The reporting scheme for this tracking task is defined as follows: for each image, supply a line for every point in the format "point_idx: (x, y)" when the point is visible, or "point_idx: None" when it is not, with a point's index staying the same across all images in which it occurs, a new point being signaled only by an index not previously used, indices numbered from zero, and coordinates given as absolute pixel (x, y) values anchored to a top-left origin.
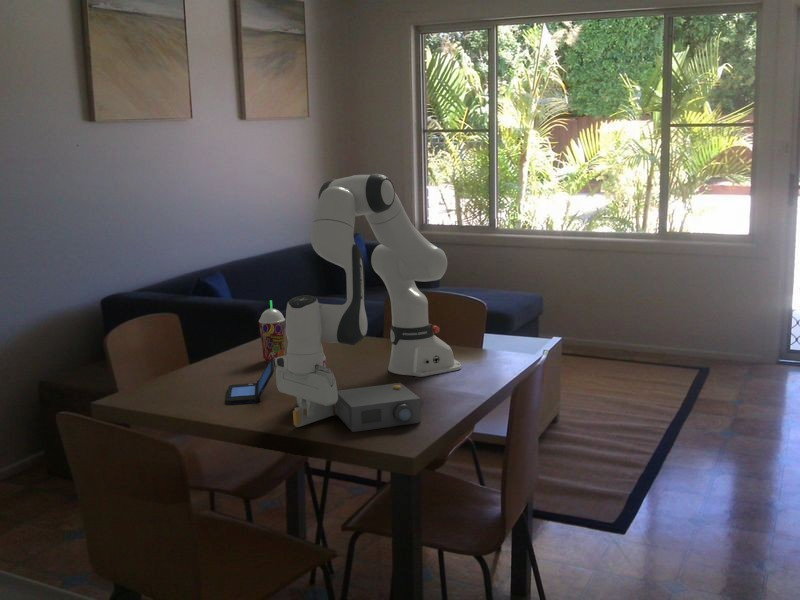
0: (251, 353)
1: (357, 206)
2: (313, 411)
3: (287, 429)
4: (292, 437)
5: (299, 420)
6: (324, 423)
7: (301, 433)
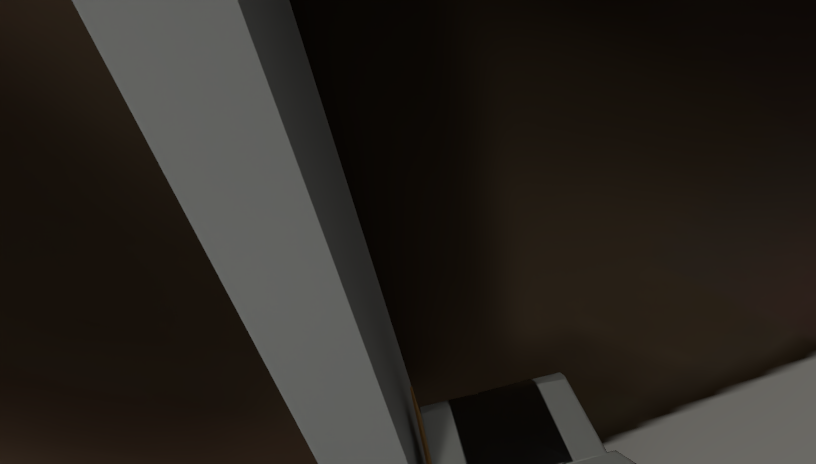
0: None
1: None
2: (584, 414)
3: None
4: None
5: (424, 434)
6: (456, 100)
7: None
